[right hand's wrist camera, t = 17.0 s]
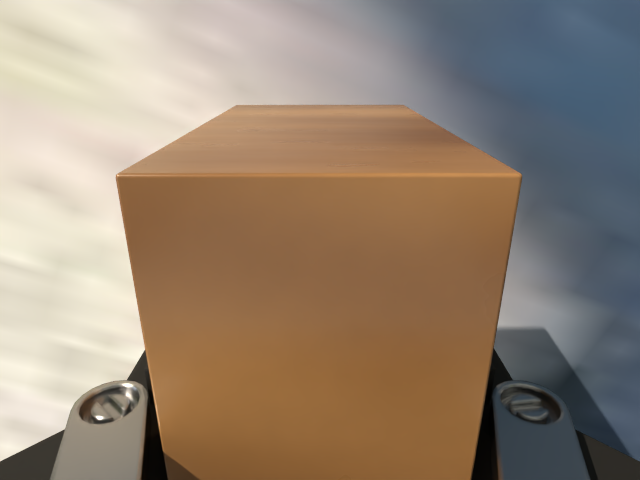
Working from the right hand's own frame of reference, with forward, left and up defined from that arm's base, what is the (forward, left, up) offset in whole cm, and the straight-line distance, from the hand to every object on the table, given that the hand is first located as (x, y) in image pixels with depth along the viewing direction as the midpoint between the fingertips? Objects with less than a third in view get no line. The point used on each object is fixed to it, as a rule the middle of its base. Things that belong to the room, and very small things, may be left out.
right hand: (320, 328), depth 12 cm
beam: (+33, -7, -3) cm, 34 cm away
